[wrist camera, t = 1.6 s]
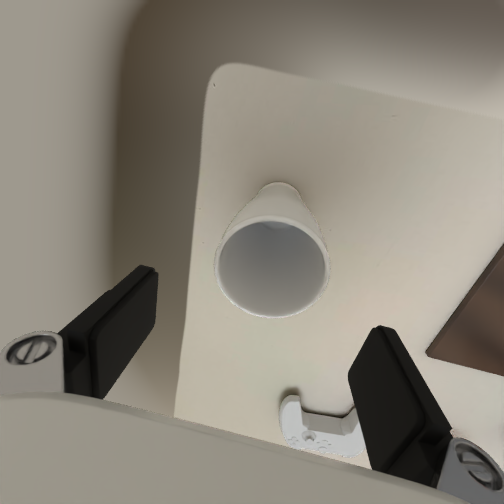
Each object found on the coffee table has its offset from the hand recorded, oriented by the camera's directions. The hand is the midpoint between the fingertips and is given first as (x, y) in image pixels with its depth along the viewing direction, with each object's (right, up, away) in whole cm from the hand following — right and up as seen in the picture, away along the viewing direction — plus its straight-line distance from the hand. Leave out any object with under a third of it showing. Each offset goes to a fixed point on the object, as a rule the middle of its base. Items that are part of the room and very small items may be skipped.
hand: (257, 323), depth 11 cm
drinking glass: (+3, +8, +17) cm, 19 cm away
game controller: (+11, -23, +30) cm, 40 cm away
